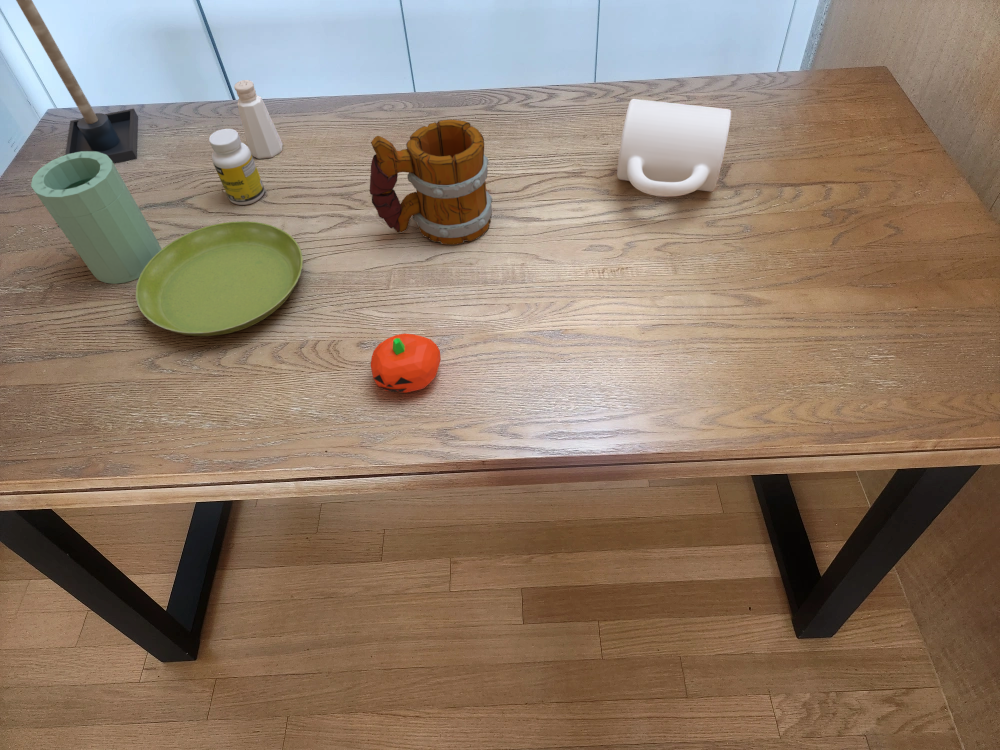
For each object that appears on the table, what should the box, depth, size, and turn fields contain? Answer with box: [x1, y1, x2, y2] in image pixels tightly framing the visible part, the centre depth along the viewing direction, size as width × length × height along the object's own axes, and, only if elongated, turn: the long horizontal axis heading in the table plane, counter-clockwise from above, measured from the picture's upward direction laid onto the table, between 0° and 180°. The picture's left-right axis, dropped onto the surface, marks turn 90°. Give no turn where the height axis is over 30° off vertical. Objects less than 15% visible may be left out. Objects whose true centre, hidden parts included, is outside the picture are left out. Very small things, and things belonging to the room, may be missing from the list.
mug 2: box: [616, 98, 732, 198], centre depth 92 cm, size 16×14×11 cm
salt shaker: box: [233, 79, 283, 160], centre depth 102 cm, size 5×5×11 cm
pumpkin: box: [370, 332, 442, 394], centre depth 74 cm, size 7×8×6 cm
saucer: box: [135, 220, 304, 337], centre depth 85 cm, size 21×21×3 cm
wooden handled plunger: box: [15, 0, 120, 151], centre depth 99 cm, size 5×5×24 cm
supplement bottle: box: [208, 128, 265, 206], centre depth 95 cm, size 5×5×10 cm
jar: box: [30, 151, 163, 285], centre depth 86 cm, size 9×9×14 cm
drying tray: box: [64, 108, 139, 165], centre depth 108 cm, size 13×10×2 cm
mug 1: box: [369, 119, 493, 246], centre depth 87 cm, size 11×16×15 cm, turn 108°
